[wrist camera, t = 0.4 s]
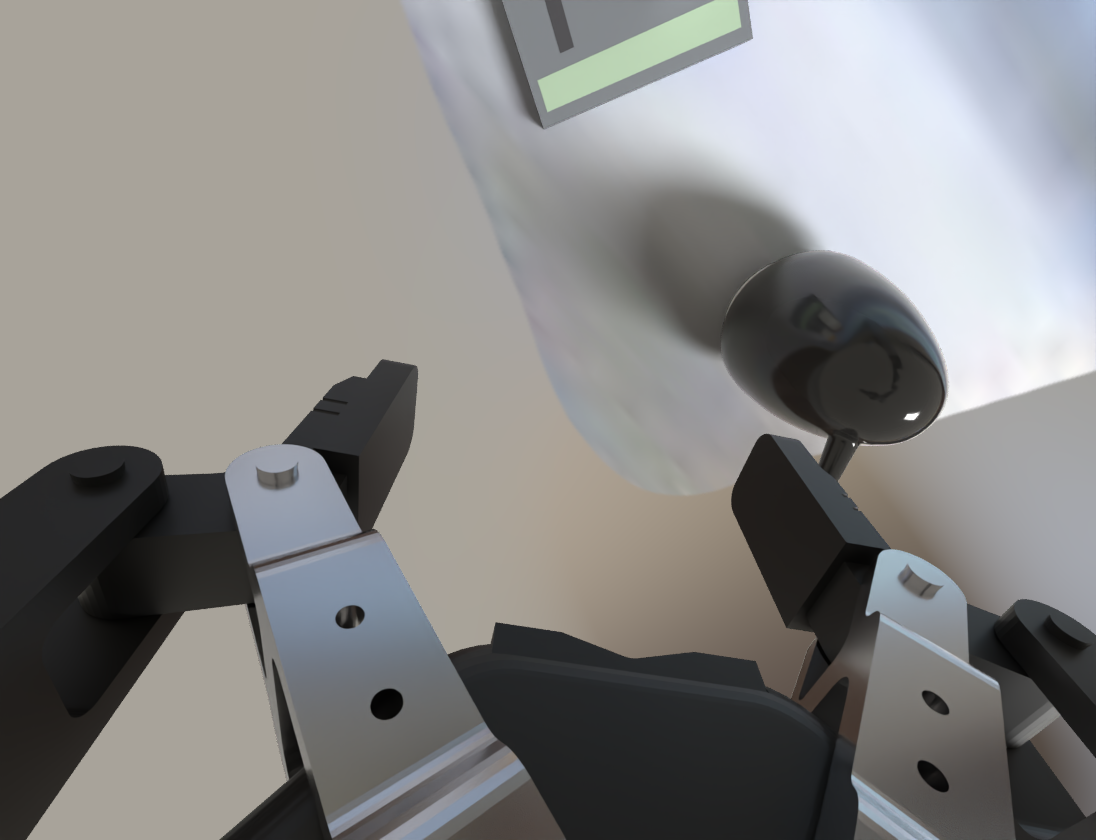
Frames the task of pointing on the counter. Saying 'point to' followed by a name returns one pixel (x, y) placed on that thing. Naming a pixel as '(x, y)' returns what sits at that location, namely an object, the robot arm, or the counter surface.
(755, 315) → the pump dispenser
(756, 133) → the counter surface
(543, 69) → the switch panel
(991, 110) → the counter surface
